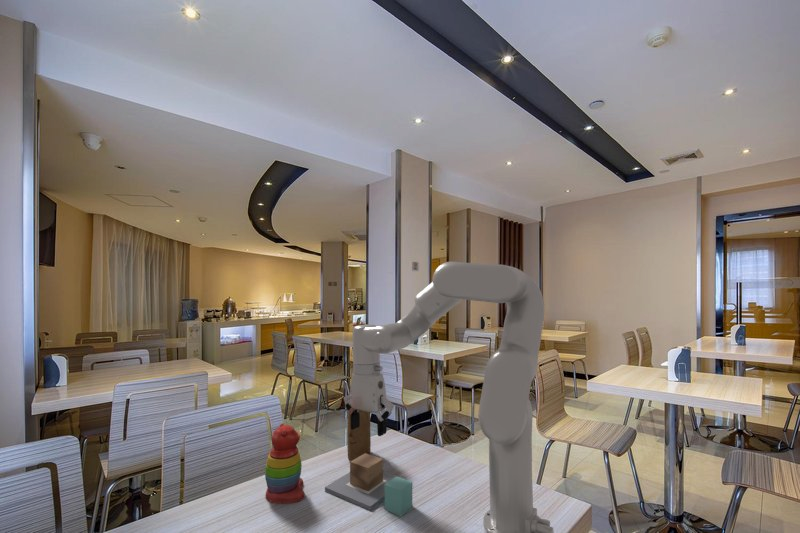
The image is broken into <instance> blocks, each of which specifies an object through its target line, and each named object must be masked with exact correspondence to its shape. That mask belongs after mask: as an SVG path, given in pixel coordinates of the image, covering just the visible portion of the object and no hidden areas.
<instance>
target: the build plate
mask: <svg viewBox="0 0 800 533" xmlns="http://www.w3.org/2000/svg"><path fill="white" fill-rule="evenodd" d="M396 476H397V477H400V478H403V479H405V480H407V478H404V477H402V476H398V475H396V474H392V473H390V472H388V471H387V472H386V471H384V470H383V481H382V482H381V483H380V484H378V485H377V486H375V487H374V488H372V489H371V490H370V491H366V490H363V489H361V488H358V487H356V486H353V485H351V484H350V471H349V472H347V473H346V474H344V475H342V476H341V477H339V478H338V479H336V480H334V481H333V482H331V483H329V484H328V485H326V486H325V487H324V492H327V493H328V494H331V495H334V496H336V497H337V498H341V499H343V500H345V501H346V502H349V503H352V504H353V505H356V506H359V507H362V508H363V509H366V510H368V511H372V510H373V509H375V508H376V507H377V506H379V505H380V504H381V503H382V502H383V501H384V502H385V484H386V483H388V482H389V481H390V480H392V479H393V478H394V477H396Z"/></svg>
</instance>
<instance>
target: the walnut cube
mask: <svg viewBox="0 0 800 533" xmlns="http://www.w3.org/2000/svg"><path fill="white" fill-rule="evenodd" d="M383 471H384V458H381V457H378V456H375V455H373V454H372V455H371V454H370V455H369V454H366V453H365V454H363V455H361V456H359V457H358V458H356V459H354V460H352V461H349V472H350V484H351V485H353V486H356V487H358V488H361V489H363V490H366V491H370V490H371V489H372V488H374V487H375V486H377V485H378V484H380V483H381V482H382V481H383Z"/></svg>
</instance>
